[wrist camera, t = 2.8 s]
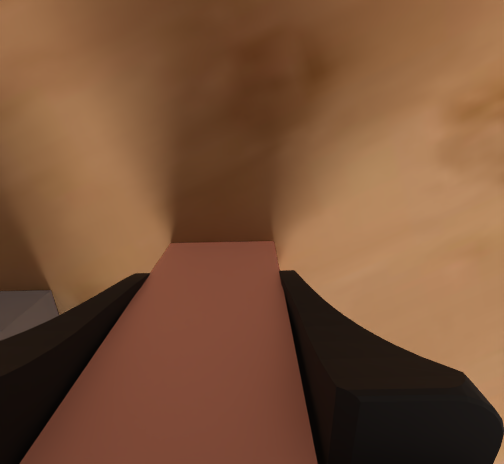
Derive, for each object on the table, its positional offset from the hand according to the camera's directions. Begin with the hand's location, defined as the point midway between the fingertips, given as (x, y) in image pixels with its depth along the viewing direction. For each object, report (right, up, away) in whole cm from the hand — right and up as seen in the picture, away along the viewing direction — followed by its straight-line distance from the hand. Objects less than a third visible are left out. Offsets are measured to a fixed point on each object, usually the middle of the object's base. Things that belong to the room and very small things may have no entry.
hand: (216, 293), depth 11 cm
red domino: (0, +1, +3) cm, 3 cm away
